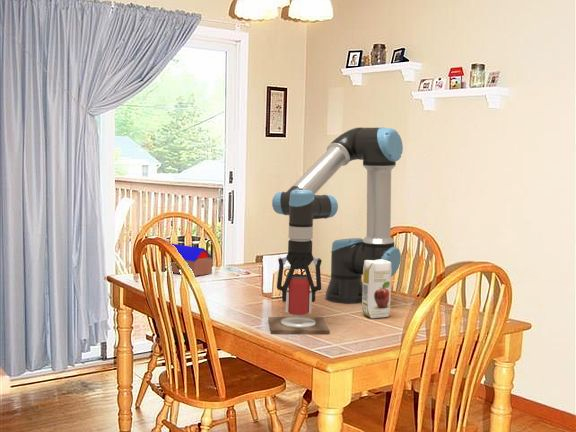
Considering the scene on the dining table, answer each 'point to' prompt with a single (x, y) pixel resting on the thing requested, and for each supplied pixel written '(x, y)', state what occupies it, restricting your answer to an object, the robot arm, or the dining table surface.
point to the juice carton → (376, 288)
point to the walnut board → (280, 329)
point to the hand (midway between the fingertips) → (298, 311)
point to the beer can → (298, 295)
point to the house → (194, 259)
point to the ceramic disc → (298, 322)
